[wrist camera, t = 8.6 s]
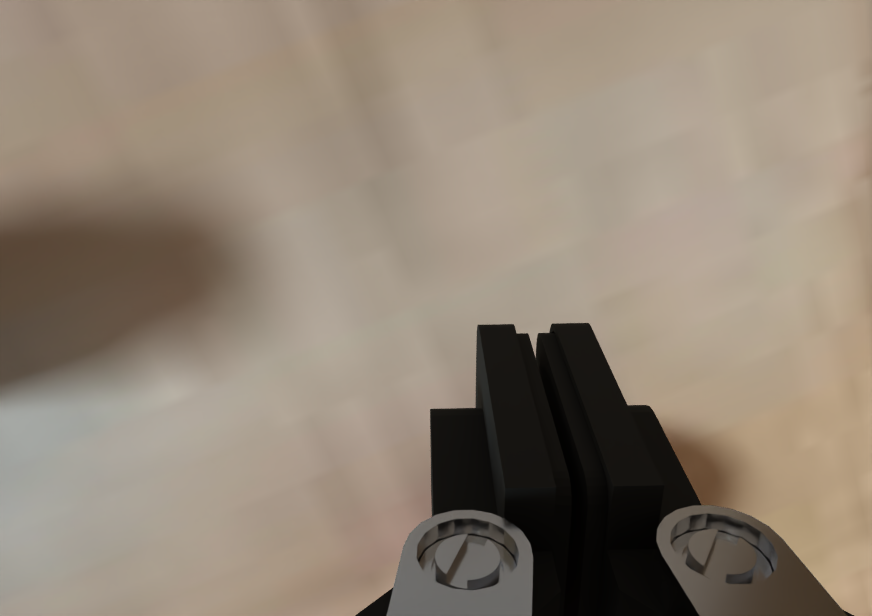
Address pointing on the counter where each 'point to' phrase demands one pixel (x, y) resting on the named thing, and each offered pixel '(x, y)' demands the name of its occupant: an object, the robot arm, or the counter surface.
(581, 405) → the robot arm
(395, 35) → the counter surface
